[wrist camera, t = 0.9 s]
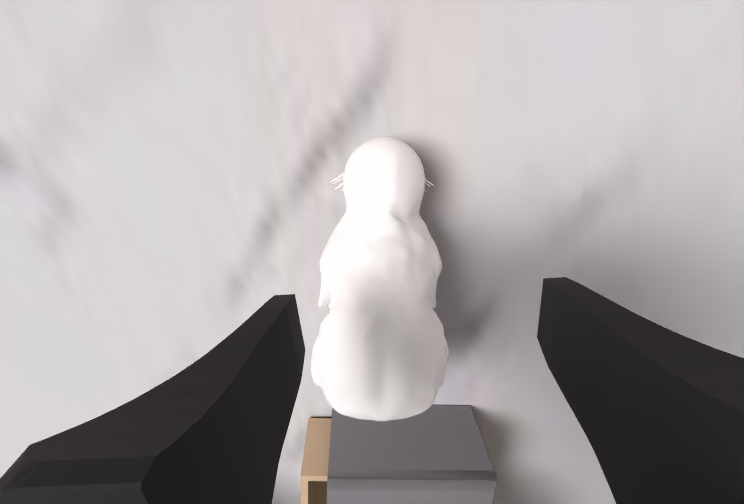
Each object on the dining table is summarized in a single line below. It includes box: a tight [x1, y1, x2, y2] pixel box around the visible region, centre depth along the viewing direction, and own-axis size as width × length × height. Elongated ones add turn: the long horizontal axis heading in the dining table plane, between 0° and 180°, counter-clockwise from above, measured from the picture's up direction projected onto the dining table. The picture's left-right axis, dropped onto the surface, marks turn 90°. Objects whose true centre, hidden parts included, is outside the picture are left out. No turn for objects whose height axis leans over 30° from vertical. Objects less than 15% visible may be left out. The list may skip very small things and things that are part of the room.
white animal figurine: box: [311, 137, 449, 421], centre depth 19 cm, size 6×8×12 cm
